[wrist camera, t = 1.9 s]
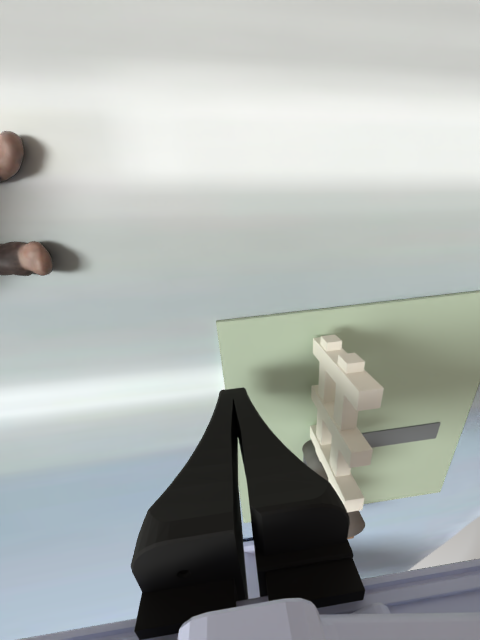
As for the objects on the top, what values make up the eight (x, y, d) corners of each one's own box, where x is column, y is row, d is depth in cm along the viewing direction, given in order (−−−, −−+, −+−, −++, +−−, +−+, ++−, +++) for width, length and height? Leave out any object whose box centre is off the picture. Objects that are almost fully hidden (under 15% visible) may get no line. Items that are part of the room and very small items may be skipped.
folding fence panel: (323, 439, 17) (361, 515, 12) (309, 441, 17) (342, 518, 12) (330, 328, 13) (385, 377, 9) (313, 330, 13) (360, 380, 9)
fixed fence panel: (319, 504, 21) (352, 592, 16) (299, 507, 21) (326, 596, 16) (324, 433, 18) (366, 515, 13) (301, 437, 17) (334, 521, 12)
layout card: (437, 488, 21) (441, 493, 21) (243, 519, 20) (243, 524, 20) (508, 287, 14) (515, 288, 14) (216, 320, 13) (216, 323, 13)
